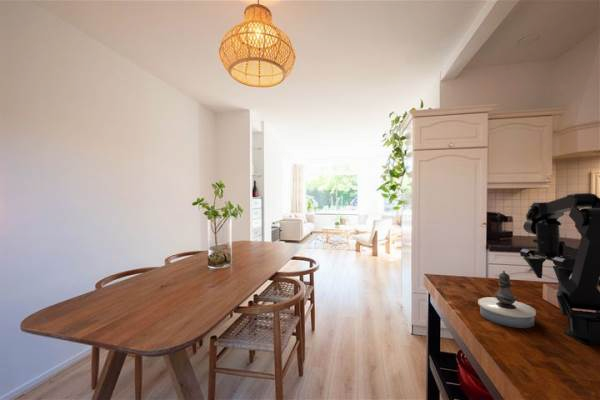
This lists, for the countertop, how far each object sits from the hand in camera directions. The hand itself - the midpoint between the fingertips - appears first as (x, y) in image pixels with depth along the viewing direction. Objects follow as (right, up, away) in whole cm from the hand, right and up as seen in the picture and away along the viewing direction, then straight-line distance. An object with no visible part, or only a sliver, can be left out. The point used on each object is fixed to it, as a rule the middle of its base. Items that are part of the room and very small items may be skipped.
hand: (550, 282), depth 83 cm
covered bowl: (-17, -12, -2) cm, 21 cm away
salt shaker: (-17, -8, -2) cm, 19 cm away
